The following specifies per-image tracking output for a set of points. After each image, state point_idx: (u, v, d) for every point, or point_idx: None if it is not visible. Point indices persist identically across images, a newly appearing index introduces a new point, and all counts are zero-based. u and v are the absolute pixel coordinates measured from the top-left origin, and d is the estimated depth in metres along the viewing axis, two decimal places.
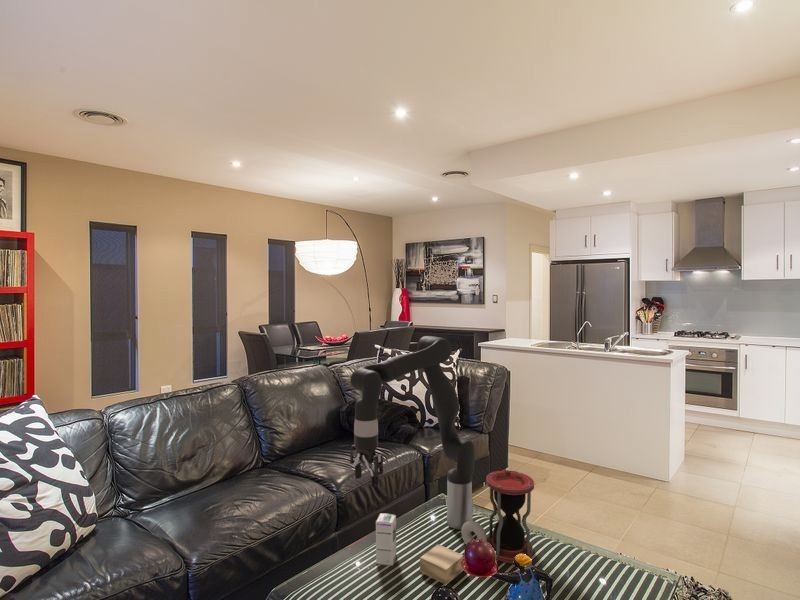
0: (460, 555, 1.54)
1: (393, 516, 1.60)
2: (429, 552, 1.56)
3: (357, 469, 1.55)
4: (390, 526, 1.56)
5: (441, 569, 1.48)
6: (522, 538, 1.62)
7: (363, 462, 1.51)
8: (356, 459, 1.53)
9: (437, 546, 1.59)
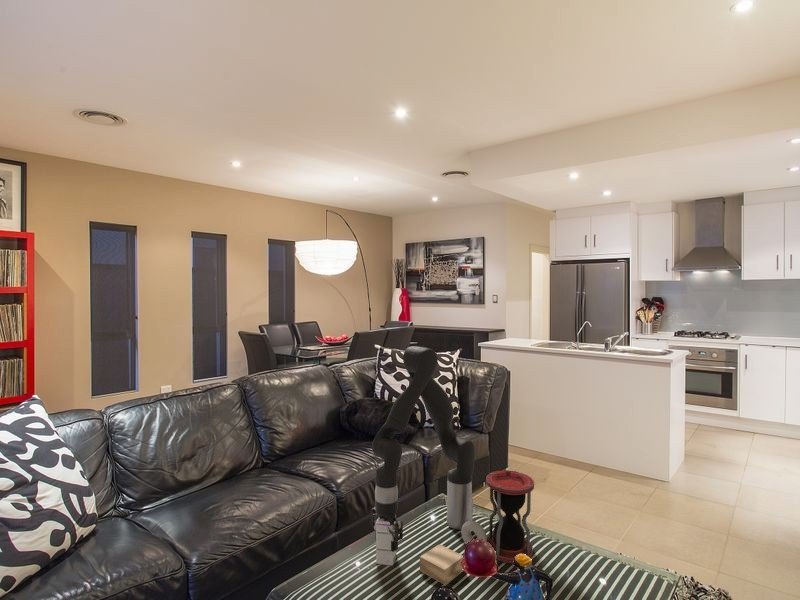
0: (460, 556, 1.54)
1: None
2: (429, 552, 1.56)
3: None
4: (390, 526, 1.56)
5: (440, 569, 1.48)
6: (522, 538, 1.62)
7: None
8: None
9: (438, 546, 1.59)
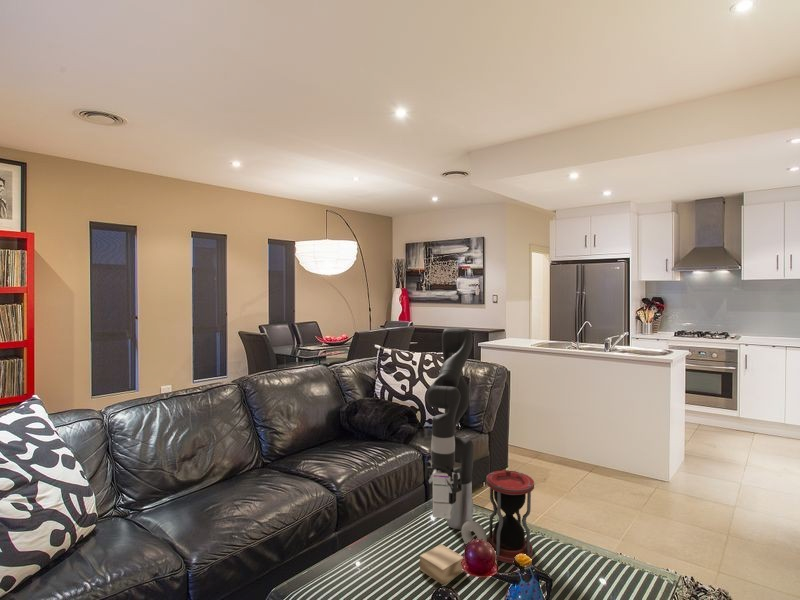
0: (460, 557, 1.53)
1: None
2: (430, 551, 1.56)
3: None
4: (448, 478, 1.49)
5: (438, 568, 1.48)
6: (522, 538, 1.62)
7: None
8: (432, 475, 1.53)
9: (439, 546, 1.59)
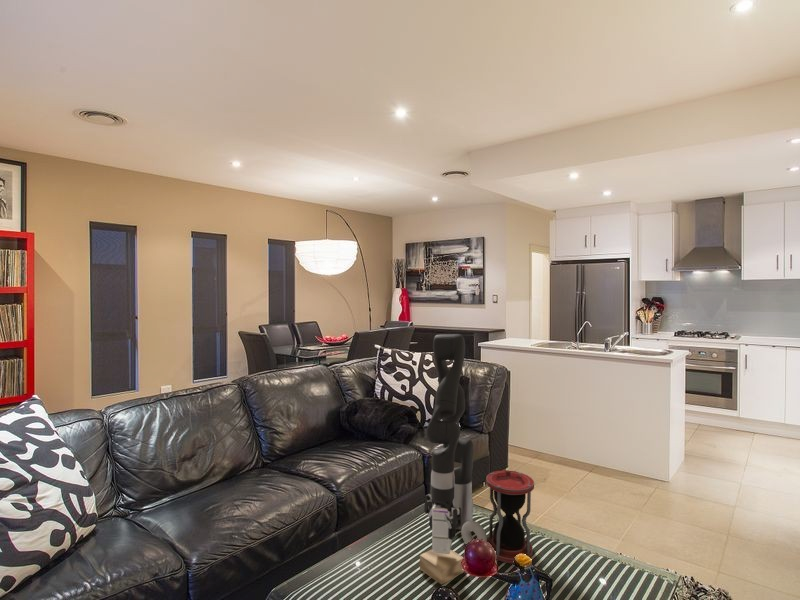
0: (460, 557, 1.53)
1: None
2: (430, 551, 1.57)
3: None
4: (447, 513, 1.50)
5: (438, 568, 1.48)
6: (522, 538, 1.62)
7: None
8: None
9: None
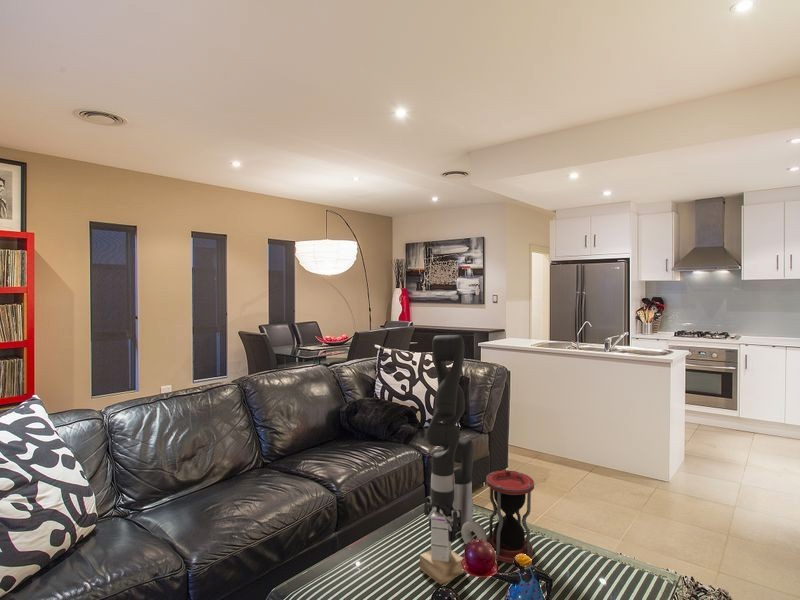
0: (460, 558, 1.53)
1: None
2: (430, 551, 1.57)
3: None
4: None
5: (437, 568, 1.48)
6: (522, 538, 1.62)
7: None
8: (432, 512, 1.54)
9: None
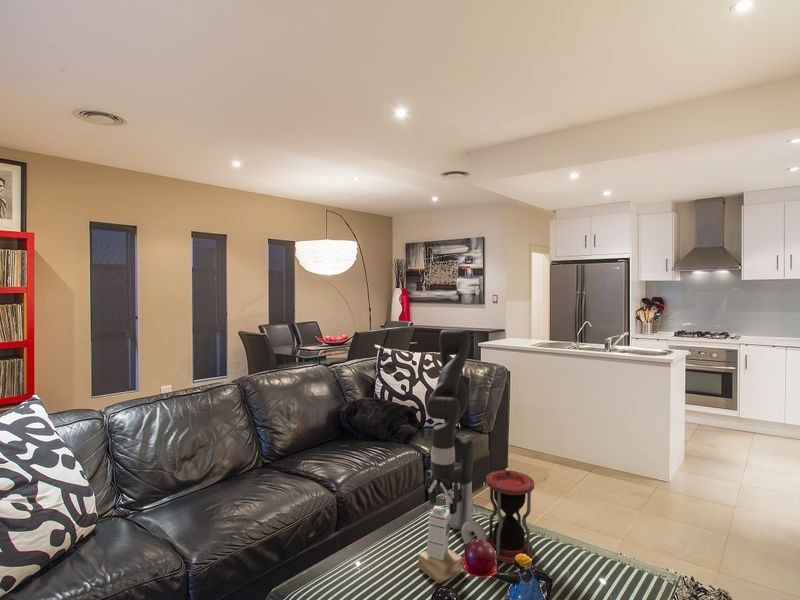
0: (459, 557, 1.53)
1: (448, 510, 1.54)
2: None
3: (432, 495, 1.55)
4: (444, 520, 1.51)
5: (435, 567, 1.49)
6: (522, 538, 1.62)
7: (440, 489, 1.52)
8: (432, 485, 1.53)
9: None
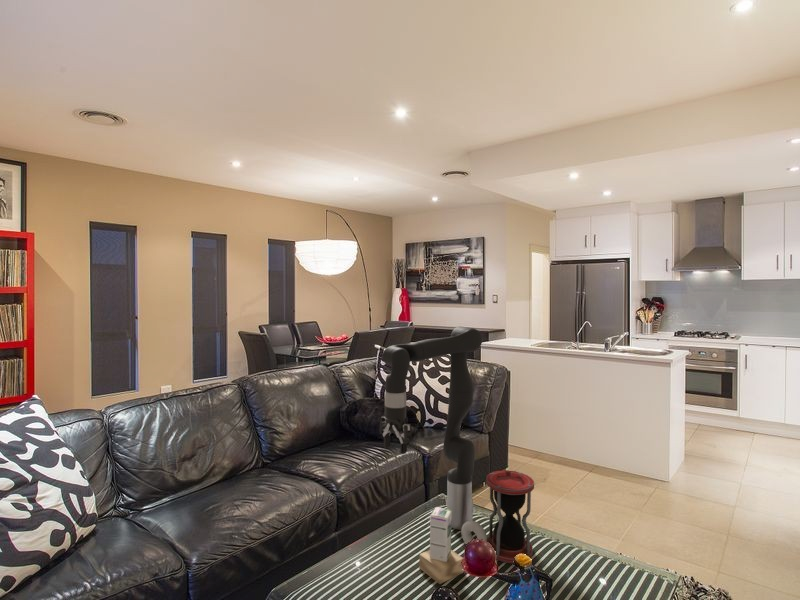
0: (460, 558, 1.53)
1: (449, 511, 1.54)
2: None
3: (386, 438, 1.69)
4: (445, 521, 1.50)
5: (436, 568, 1.48)
6: (522, 538, 1.62)
7: (393, 431, 1.66)
8: (386, 429, 1.68)
9: None
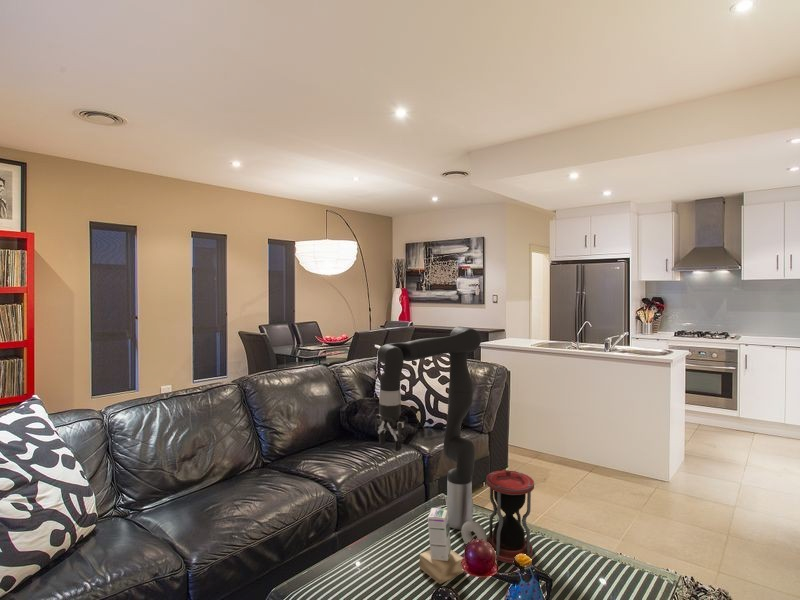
0: (460, 557, 1.53)
1: (445, 510, 1.53)
2: None
3: (381, 436, 1.71)
4: (443, 522, 1.49)
5: (436, 568, 1.48)
6: (522, 538, 1.62)
7: (387, 429, 1.68)
8: (381, 426, 1.70)
9: None
